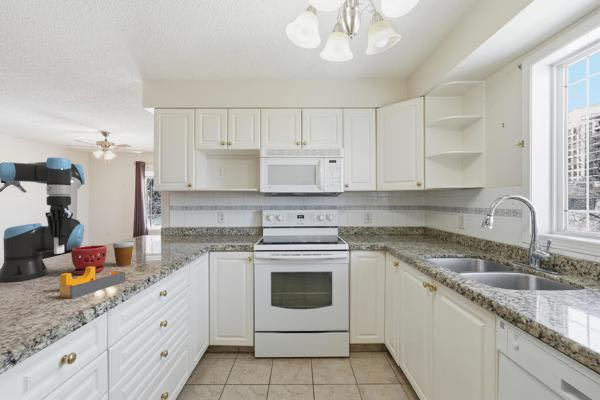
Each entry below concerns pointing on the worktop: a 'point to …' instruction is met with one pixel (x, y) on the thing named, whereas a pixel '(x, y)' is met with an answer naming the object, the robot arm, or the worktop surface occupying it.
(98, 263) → the plant pot
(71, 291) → the keeper bracket
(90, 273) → the pipe clamp
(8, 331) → the worktop surface
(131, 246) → the disposable coffee cup
